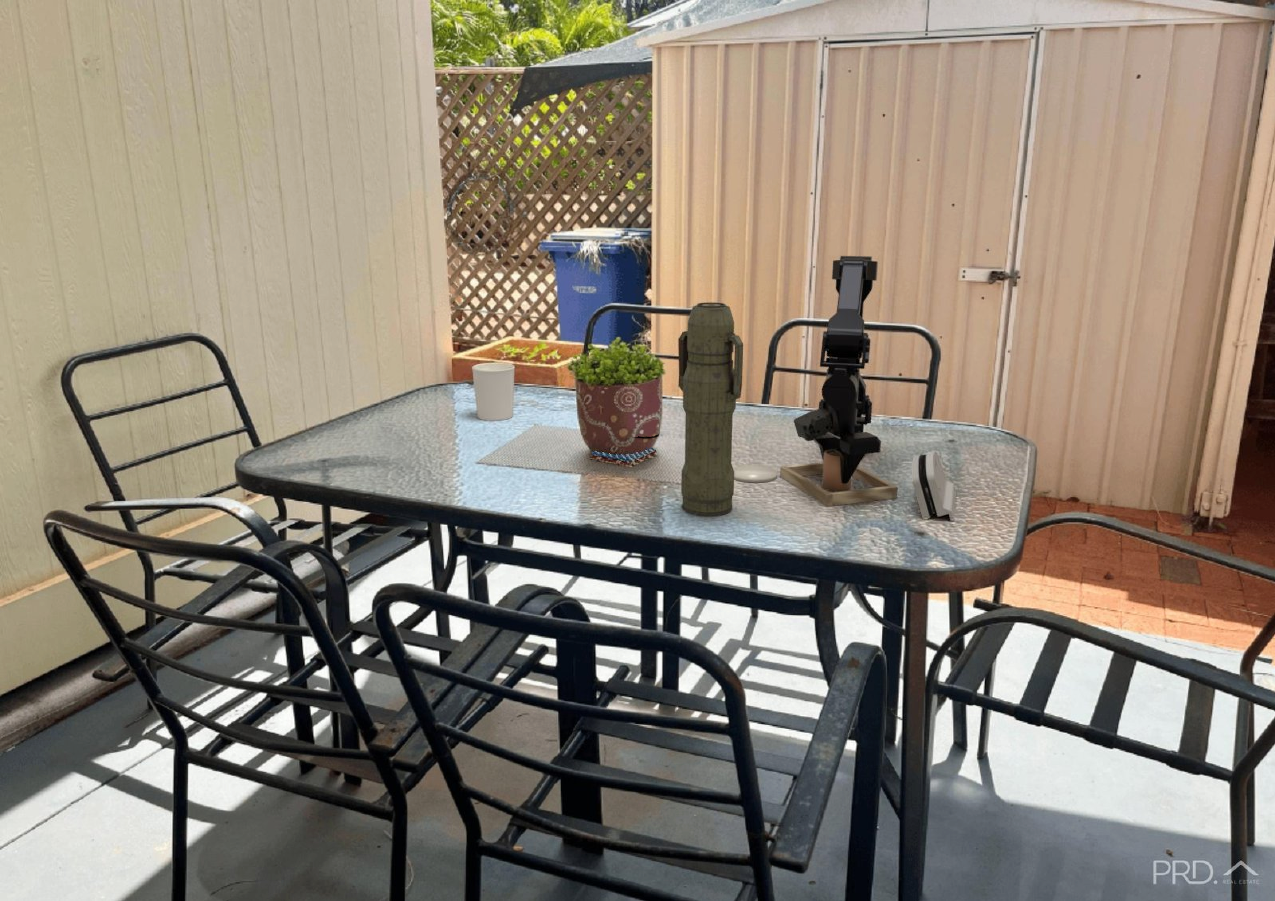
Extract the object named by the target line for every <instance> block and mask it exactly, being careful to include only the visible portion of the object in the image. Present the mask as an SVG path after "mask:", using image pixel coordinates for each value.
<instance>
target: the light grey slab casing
mask: <svg viewBox="0 0 1275 901" xmlns="http://www.w3.org/2000/svg"><path fill="white" fill-rule="evenodd" d="M911 462H912V463H911V480H912V485H913V488H914V489H913V490H914V492H915V496H916V499H917V502H918V507H919V511H920V513H921V517H922V519H923V518H931V517H932V516H933V514H934V516H937V518H938V517H942V516H945V515H949V520H950V521H951V519H953V520H954V521H955V517H954V510H955V511H956V505H955V503H956V502H957V489H956V487H955V483H954V482H951V481H949V480H948V479H947V477H946V475H945V472H944V469H943V465H942V462H941V458H940V455H939V453H938V452H937V451H928V452H927V453H926V454H923V453H919V454H917V455H915V456H913V458H912V461H911ZM955 501H956V502H955Z"/></svg>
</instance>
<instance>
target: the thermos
mask: <svg viewBox="0 0 1275 901" xmlns="http://www.w3.org/2000/svg"><path fill="white" fill-rule="evenodd" d="M677 346H678V349H677V350H678V383H677V384H678V387H679V389H680V390H681V392H682V408H683V411H684V413H685V430H684V431H685V432H684V433H685V435H684V436H685V437H684V440H685V441H684V463H683V466H682V469H681V481H680V482H681V483H680V484H681V490H680V491H681V493H680V494H681V496H682V504H681V508H682V510H683V511H685V513H687V514H691V515H695V516H698V517H699V516H700V517H718V516H723V515H726V514H729V513H730V512H732V510H733V497H734V494H735V492H734V491H735V479H734V470H733V467H734V466H733V464H732V457H733V456H732V453H733V451H732V448H733V445H732V444H733V419H734V418H733V416H734V415H733V414H734V413H735V410H736V408H737V400H738V399H740V398H742V396H741V395H742V388H743V369H744V368H743V367H744V366H743V364H744V343H743V341H742V339H741V337H740V335H736V333H735V321H734V316H733V313H732V310H731V307H730V306H729V305H727V304H726V303H724V302H715V301H714V302H713V301H712V302H711V301H710V302H699V303H697V304H696V305H693V306H692V307H691V310H690V314H689V316H688V319H687V330H684V331H682V333H681V334H680V335H679V338H678V345H677ZM733 353H734V360H733Z"/></svg>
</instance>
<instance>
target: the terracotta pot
mask: <svg viewBox="0 0 1275 901" xmlns="http://www.w3.org/2000/svg"><path fill="white" fill-rule="evenodd" d="M822 462H823V474H822V483H821V488H823V489H824V490H826V491H831V492H842V491H851V490H852V477H851V478H850V480H849V482H848V483H846V484H843V483H842V481H841V467H840V456H839V455H838V454H837V452H836V451H835V450H834V449H830V450H826V451H824V460H823V459H822Z"/></svg>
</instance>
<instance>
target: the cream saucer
mask: <svg viewBox="0 0 1275 901" xmlns="http://www.w3.org/2000/svg"><path fill="white" fill-rule="evenodd" d="M732 467H733V470H734V481H739V482H742V483H749V484H750V483H751V484H760V483H761V484H762V483H768V482H769V483H770V482H773V481H775V480H776V479H777V478H778V471H777V470H776V469H775V468H772V467H769V466H768V465H767V466H766V465H761V464H744V465H742V464H741V465H736V466H732Z"/></svg>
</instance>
